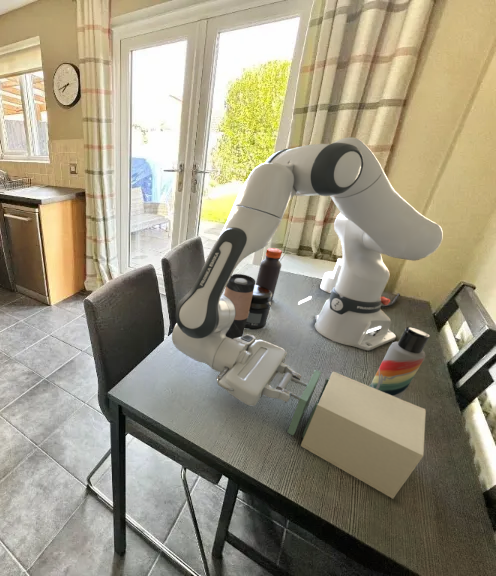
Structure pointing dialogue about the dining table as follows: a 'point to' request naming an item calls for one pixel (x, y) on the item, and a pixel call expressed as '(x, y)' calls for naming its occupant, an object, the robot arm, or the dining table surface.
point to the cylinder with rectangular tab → (331, 277)
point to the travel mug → (239, 301)
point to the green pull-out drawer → (302, 398)
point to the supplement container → (259, 308)
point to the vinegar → (269, 270)
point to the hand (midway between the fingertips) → (295, 388)
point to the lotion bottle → (401, 363)
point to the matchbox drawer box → (367, 433)
